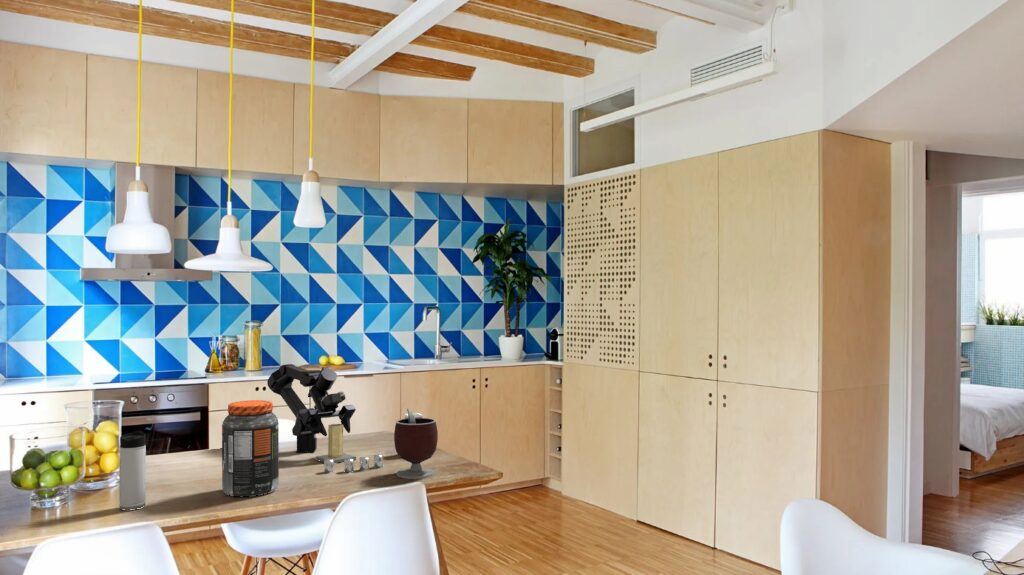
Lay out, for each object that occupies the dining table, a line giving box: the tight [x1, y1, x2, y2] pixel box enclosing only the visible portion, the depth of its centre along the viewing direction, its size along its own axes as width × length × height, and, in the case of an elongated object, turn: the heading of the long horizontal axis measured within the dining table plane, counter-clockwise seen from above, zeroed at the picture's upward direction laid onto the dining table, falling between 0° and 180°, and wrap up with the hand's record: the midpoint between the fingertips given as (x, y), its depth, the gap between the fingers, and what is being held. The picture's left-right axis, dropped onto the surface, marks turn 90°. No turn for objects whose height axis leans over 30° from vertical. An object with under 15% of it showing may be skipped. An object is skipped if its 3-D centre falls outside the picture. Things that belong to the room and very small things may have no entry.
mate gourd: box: [393, 408, 439, 480], centre depth 238 cm, size 16×14×20 cm
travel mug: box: [118, 431, 147, 510], centre depth 200 cm, size 6×7×20 cm
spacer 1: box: [323, 459, 335, 473], centre depth 240 cm, size 3×3×4 cm
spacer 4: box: [373, 453, 384, 469], centre depth 247 cm, size 3×3×4 cm
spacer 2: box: [343, 458, 355, 473], centre depth 241 cm, size 3×3×4 cm
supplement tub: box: [221, 399, 280, 498], centre depth 217 cm, size 16×16×26 cm
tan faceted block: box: [327, 423, 344, 458], centre depth 258 cm, size 4×5×11 cm
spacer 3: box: [359, 456, 370, 471], centre depth 244 cm, size 3×3×4 cm
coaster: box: [315, 452, 357, 464], centre depth 258 cm, size 10×10×1 cm
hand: (338, 433), depth 257 cm, fingers open, 9 cm apart
